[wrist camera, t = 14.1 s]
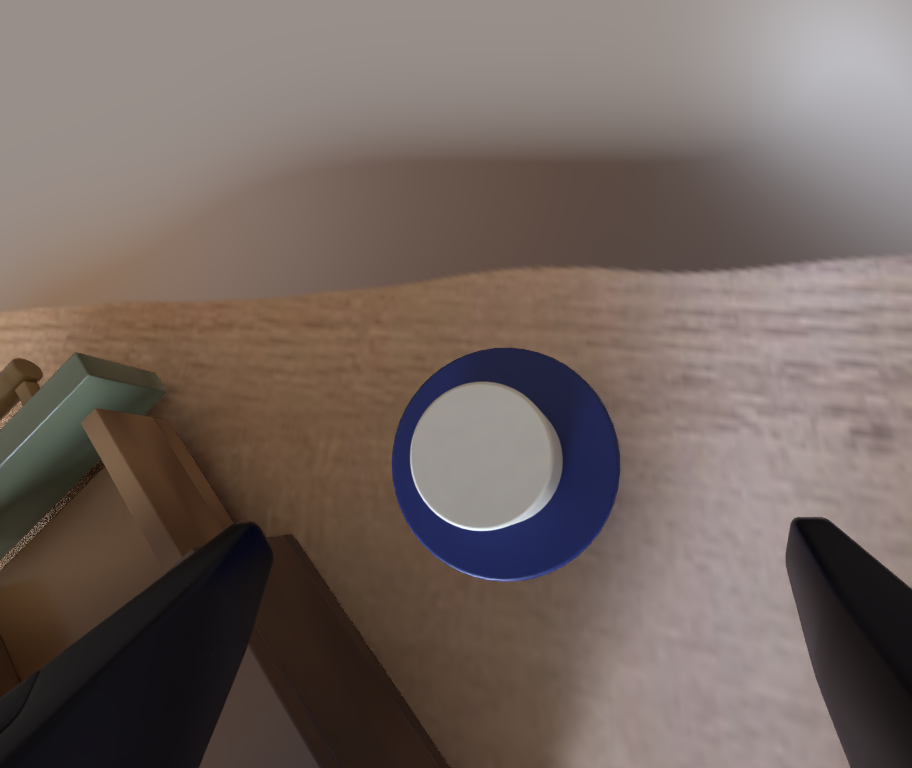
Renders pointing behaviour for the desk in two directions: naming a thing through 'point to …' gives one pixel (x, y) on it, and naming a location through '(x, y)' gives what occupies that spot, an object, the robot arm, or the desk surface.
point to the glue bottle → (506, 464)
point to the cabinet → (312, 686)
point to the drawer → (88, 503)
